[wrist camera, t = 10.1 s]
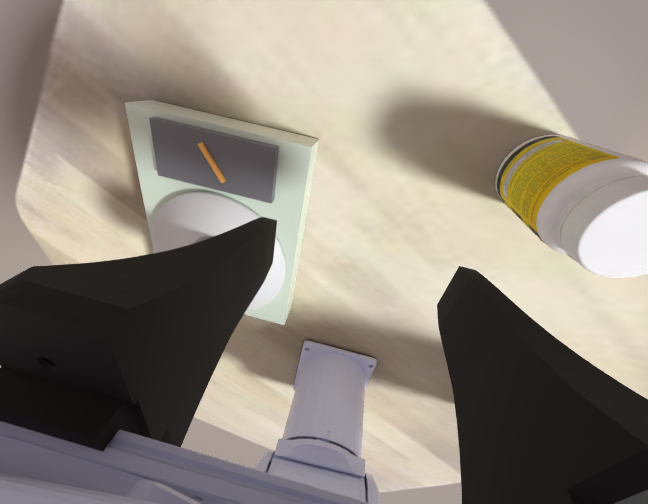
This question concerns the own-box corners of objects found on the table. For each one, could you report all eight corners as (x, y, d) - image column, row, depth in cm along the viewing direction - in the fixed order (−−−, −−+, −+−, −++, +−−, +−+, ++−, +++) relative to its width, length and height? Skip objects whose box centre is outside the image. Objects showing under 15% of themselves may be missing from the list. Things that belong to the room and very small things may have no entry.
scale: (291, 306, 27) (281, 331, 25) (177, 276, 28) (155, 297, 25) (319, 139, 19) (308, 149, 16) (152, 99, 19) (113, 103, 16)
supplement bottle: (481, 201, 19) (540, 273, 12) (514, 127, 16) (615, 164, 9) (553, 213, 19) (658, 295, 12) (600, 140, 16) (771, 188, 9)
